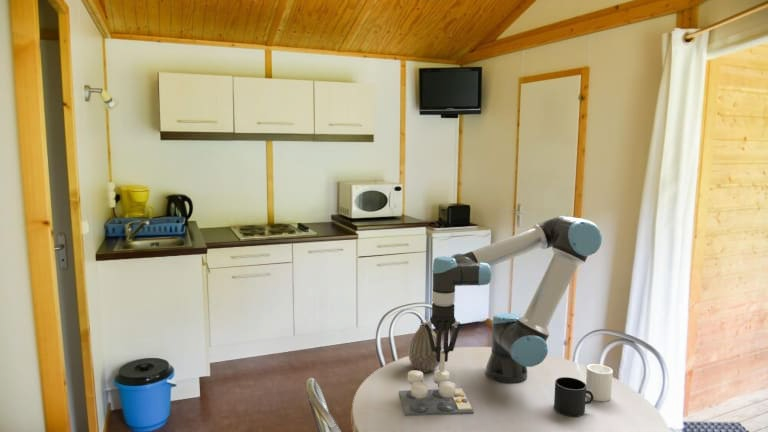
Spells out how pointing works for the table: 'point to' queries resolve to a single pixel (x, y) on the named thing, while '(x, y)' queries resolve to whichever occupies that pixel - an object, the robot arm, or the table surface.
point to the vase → (422, 350)
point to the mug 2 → (599, 382)
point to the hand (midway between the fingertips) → (441, 370)
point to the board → (435, 404)
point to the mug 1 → (570, 396)
